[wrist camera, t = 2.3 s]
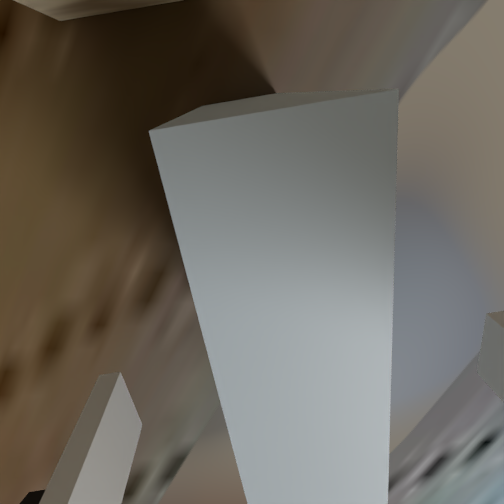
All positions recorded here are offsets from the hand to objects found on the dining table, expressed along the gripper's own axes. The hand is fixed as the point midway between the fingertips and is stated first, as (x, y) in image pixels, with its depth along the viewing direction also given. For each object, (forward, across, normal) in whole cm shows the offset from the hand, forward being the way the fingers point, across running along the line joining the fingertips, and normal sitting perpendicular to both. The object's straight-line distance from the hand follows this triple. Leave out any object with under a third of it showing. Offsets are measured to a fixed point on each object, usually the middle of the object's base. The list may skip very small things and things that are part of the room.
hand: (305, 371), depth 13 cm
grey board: (+16, 0, 0) cm, 16 cm away
